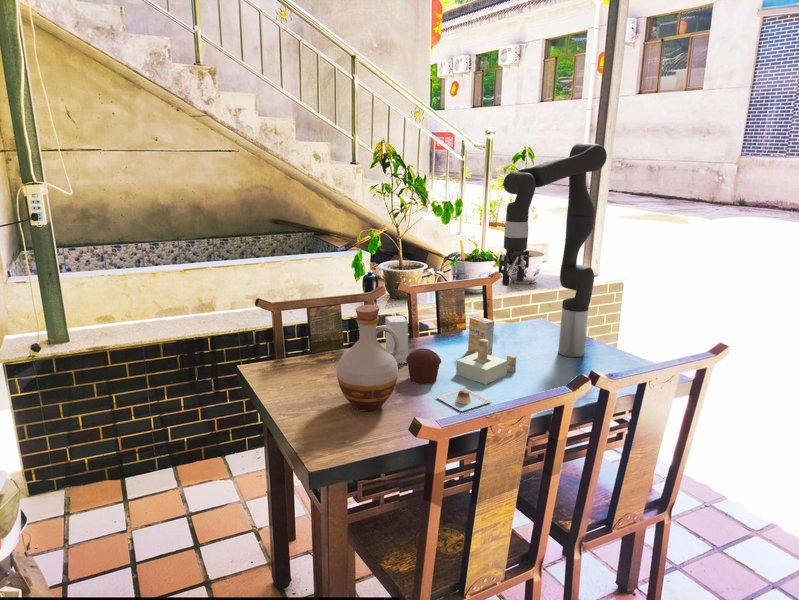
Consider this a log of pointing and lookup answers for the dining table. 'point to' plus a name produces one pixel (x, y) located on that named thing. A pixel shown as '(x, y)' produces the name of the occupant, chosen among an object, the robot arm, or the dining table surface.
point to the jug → (368, 364)
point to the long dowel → (482, 351)
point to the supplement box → (480, 333)
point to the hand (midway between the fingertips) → (512, 283)
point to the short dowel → (511, 363)
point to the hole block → (481, 368)
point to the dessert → (464, 397)
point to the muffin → (423, 366)
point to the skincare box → (401, 330)
